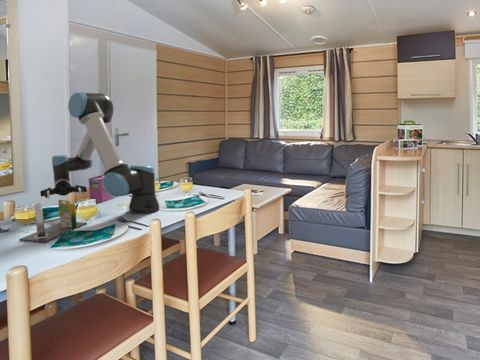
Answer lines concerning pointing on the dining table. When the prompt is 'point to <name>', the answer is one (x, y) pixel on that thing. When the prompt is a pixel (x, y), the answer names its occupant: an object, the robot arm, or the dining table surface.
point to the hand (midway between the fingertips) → (64, 194)
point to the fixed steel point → (39, 220)
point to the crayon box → (67, 214)
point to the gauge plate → (51, 233)
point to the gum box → (98, 190)
